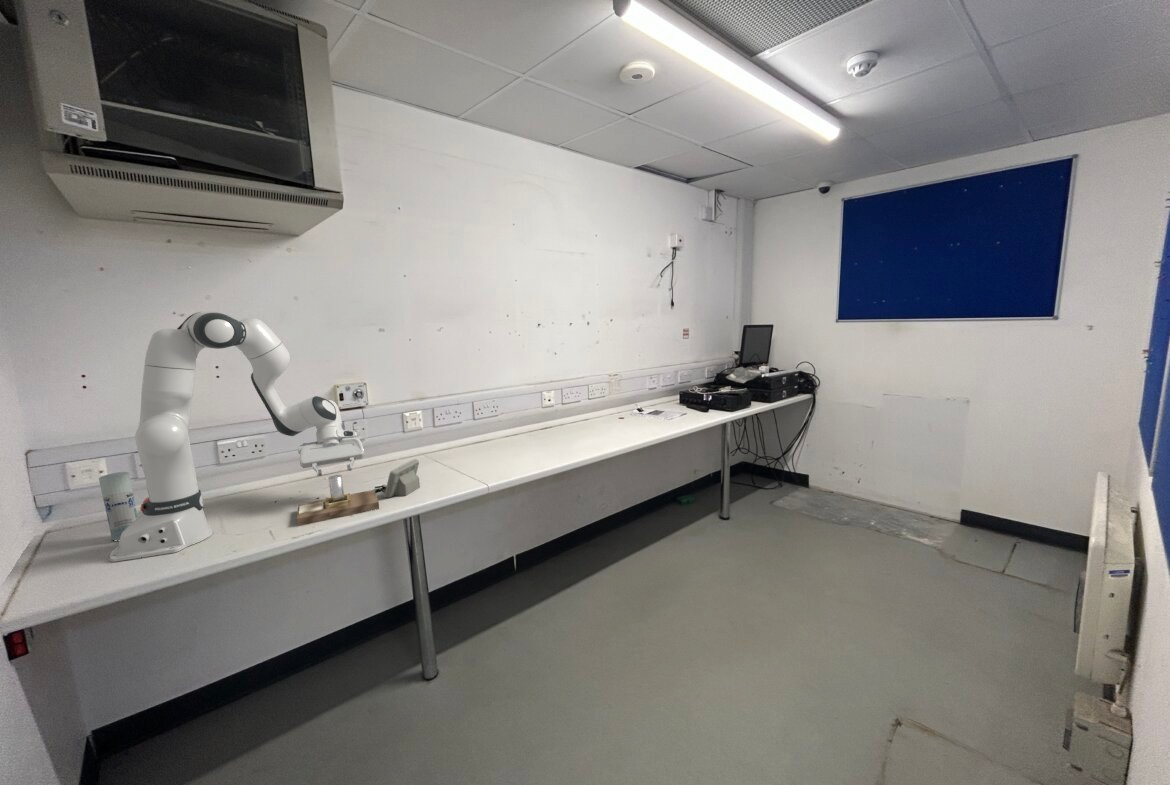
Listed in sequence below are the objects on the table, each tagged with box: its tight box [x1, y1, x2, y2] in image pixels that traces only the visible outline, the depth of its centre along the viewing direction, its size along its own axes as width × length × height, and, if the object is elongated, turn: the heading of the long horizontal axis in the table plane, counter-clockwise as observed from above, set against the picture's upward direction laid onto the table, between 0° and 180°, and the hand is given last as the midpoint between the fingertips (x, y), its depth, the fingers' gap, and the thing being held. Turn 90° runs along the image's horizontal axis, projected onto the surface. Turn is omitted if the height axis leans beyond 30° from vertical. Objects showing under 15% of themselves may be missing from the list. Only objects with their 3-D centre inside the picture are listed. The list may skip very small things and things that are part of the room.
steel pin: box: [328, 474, 345, 503], centre depth 156 cm, size 4×4×12 cm
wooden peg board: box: [296, 489, 380, 527], centre depth 156 cm, size 24×14×4 cm, turn 120°
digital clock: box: [384, 458, 421, 499], centre depth 172 cm, size 16×9×11 cm, turn 155°
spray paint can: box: [98, 471, 139, 541], centre depth 139 cm, size 6×6×20 cm
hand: (334, 472), depth 160 cm, fingers open, 8 cm apart
